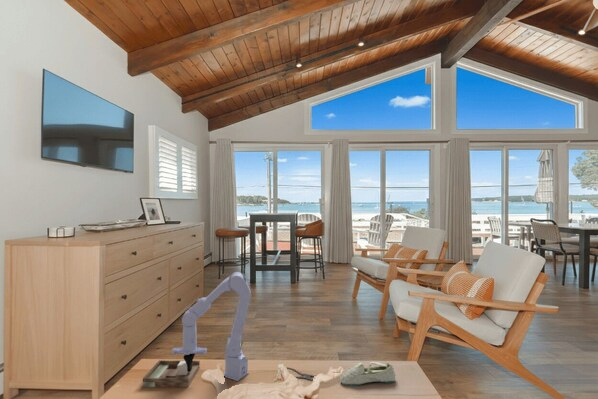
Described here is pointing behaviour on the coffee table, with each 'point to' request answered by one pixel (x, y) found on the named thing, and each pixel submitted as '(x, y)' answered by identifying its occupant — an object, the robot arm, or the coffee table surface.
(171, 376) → the wooden tray
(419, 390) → the coffee table surface
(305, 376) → the pliers
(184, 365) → the cream block
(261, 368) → the coffee table surface
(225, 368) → the robot arm
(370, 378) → the ballet flat
